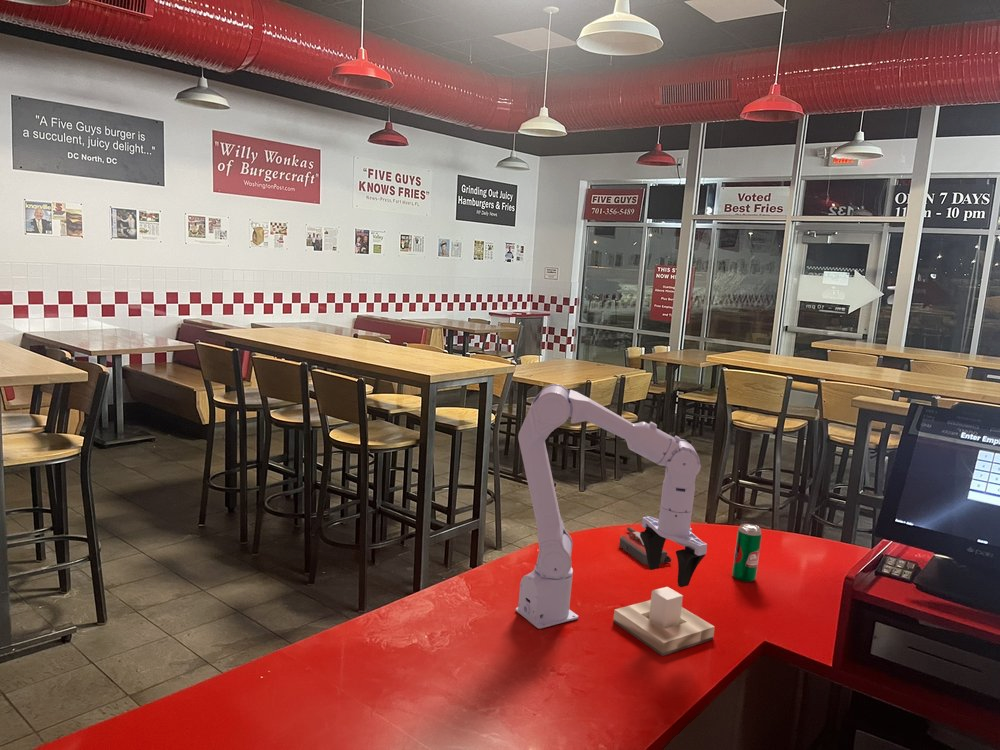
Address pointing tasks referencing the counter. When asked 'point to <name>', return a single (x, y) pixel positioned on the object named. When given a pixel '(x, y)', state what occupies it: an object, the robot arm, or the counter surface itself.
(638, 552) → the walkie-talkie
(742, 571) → the soda can
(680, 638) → the holder block
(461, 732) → the counter surface
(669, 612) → the white rectangular block
